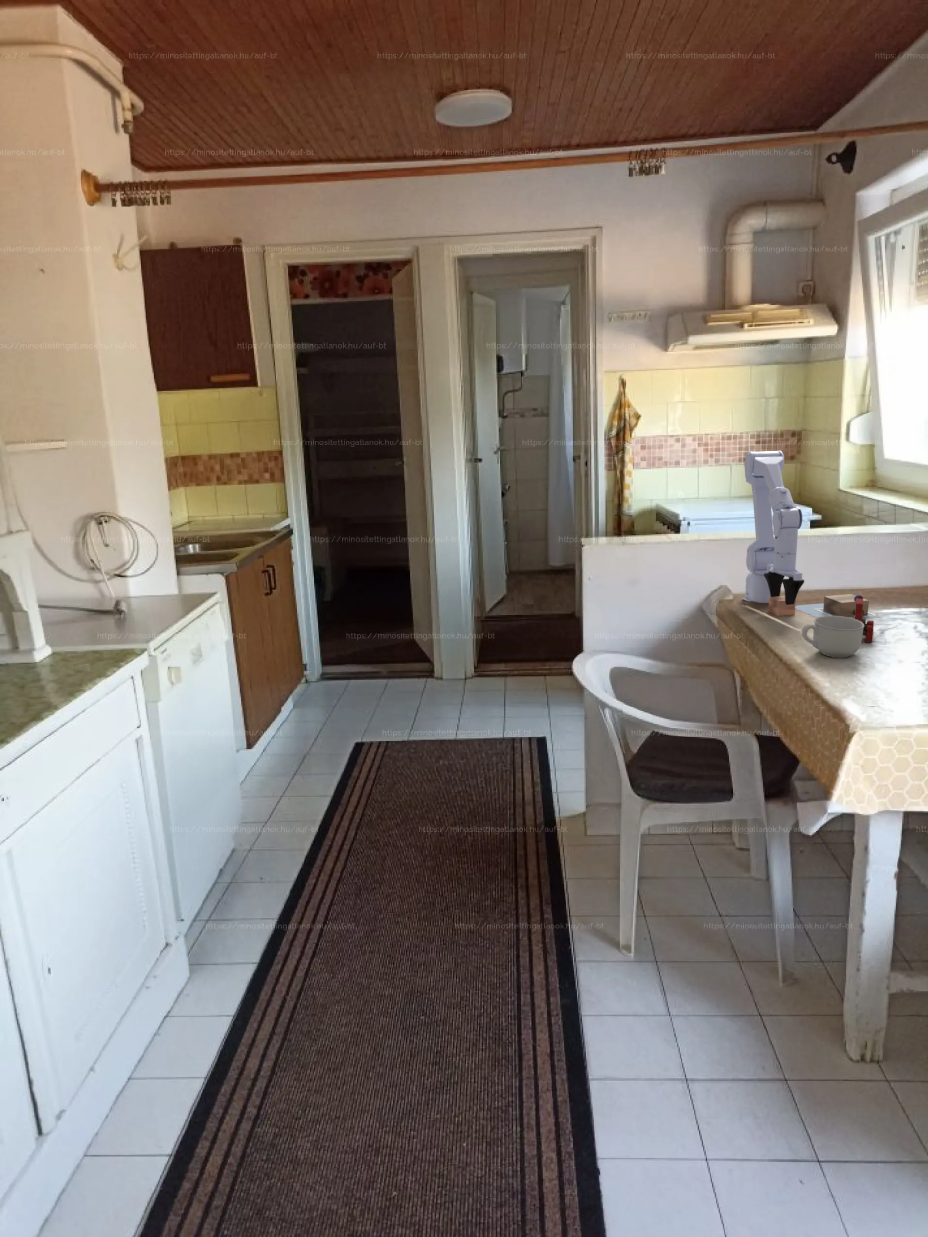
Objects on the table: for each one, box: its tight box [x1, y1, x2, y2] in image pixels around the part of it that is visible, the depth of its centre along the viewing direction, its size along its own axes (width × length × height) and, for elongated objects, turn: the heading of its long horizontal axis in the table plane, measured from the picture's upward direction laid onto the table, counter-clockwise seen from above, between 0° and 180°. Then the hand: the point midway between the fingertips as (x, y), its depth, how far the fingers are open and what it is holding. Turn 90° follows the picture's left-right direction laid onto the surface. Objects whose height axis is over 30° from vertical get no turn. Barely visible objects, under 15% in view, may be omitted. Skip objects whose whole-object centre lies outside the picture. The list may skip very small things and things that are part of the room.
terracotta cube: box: [768, 595, 797, 620], centre depth 232 cm, size 5×5×5 cm
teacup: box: [801, 616, 864, 659], centre depth 197 cm, size 14×11×8 cm
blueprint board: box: [795, 602, 881, 620], centre depth 231 cm, size 18×16×1 cm
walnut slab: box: [823, 593, 870, 617], centre depth 229 cm, size 8×8×4 cm
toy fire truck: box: [852, 594, 875, 643], centre depth 208 cm, size 7×12×10 cm, turn 154°
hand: (782, 601), depth 231 cm, fingers open, 7 cm apart
